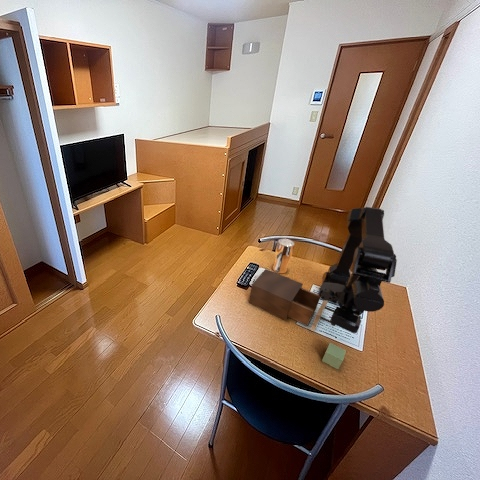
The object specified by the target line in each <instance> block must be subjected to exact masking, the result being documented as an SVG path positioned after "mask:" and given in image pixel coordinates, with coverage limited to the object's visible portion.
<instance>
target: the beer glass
mask: <svg viewBox="0 0 480 480" xmlns="http://www.w3.org/2000/svg"><path fill="white" fill-rule="evenodd" d="M295 243H296V242H294V241H293V240H291V239H288V238H280V239H278V242H277V244H276V247H275V254H274V255H275V256H274V257H275V259H274V264H273V266H272V270H273V272H275V273H277V274H286V273H287V272H288V264H289V262H290V260H291V258H292V256H293V253H294V249H295Z"/></svg>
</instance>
